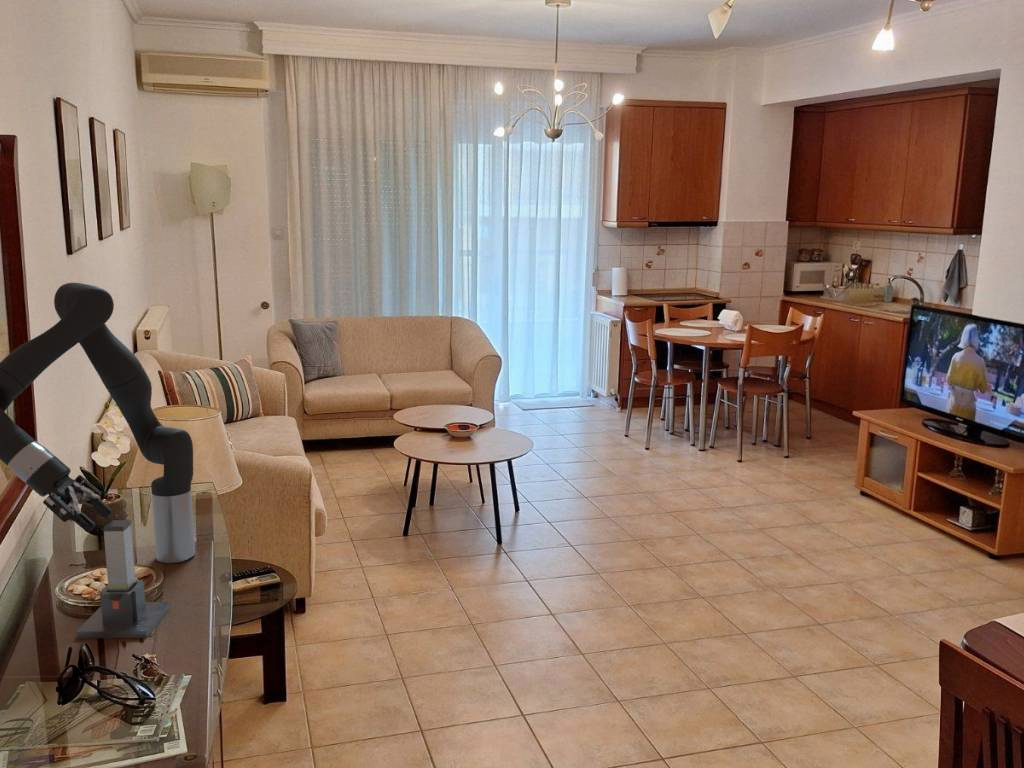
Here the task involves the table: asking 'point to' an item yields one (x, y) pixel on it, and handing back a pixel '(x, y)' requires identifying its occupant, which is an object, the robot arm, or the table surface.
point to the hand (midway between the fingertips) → (101, 521)
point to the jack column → (119, 556)
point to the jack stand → (124, 615)
